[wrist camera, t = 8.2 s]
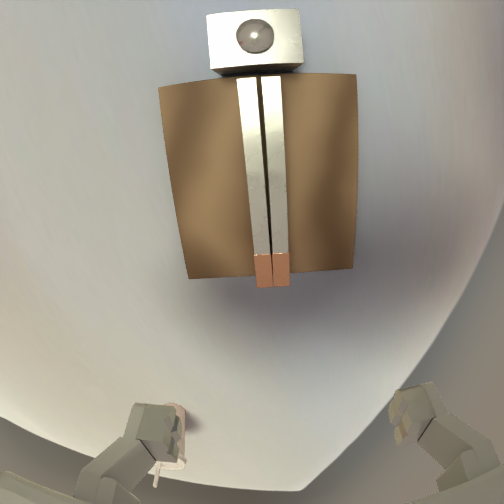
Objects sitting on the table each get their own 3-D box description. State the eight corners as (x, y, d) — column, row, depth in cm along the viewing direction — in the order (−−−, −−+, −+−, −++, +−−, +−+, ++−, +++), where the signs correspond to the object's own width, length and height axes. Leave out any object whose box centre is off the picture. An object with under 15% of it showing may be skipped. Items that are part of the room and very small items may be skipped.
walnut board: (350, 75, 23) (356, 74, 22) (348, 260, 31) (352, 268, 30) (163, 88, 24) (158, 87, 22) (191, 271, 32) (188, 279, 31)
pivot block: (289, 27, 21) (300, 6, 15) (293, 70, 23) (305, 61, 17) (216, 32, 21) (205, 12, 15) (220, 75, 23) (209, 67, 17)
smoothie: (149, 396, 42) (128, 475, 30) (190, 399, 42) (176, 483, 30) (159, 418, 45) (143, 490, 33) (196, 421, 45) (186, 497, 33)
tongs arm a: (259, 80, 22) (260, 77, 18) (276, 79, 22) (280, 76, 18) (271, 261, 29) (273, 286, 26) (285, 260, 29) (289, 285, 26)
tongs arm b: (239, 82, 22) (236, 79, 18) (256, 80, 22) (256, 77, 18) (256, 262, 29) (256, 288, 26) (270, 261, 29) (273, 286, 26)
